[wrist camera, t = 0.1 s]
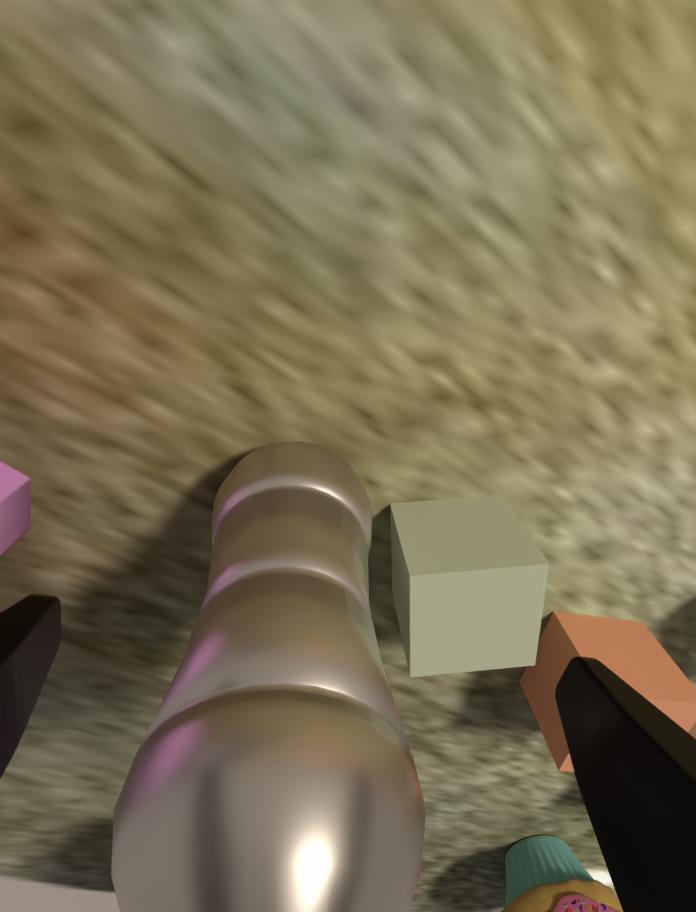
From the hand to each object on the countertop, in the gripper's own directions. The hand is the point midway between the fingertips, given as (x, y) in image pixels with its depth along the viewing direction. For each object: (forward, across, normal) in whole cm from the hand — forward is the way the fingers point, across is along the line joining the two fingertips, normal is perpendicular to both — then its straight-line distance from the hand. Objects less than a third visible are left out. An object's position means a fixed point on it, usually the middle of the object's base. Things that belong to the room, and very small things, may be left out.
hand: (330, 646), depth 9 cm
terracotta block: (+15, -18, +13) cm, 27 cm away
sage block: (+15, -8, +7) cm, 18 cm away
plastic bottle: (+15, 0, +5) cm, 16 cm away
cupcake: (+15, -23, +33) cm, 43 cm away
